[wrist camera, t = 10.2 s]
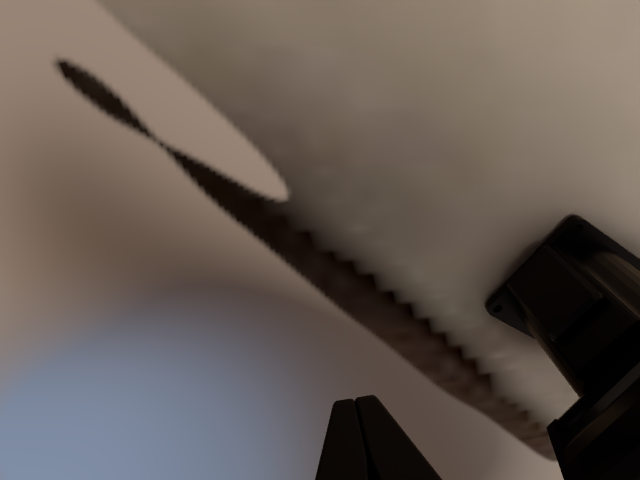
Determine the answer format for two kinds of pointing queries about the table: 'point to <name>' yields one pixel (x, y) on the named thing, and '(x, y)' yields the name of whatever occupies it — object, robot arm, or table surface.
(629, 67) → the table surface
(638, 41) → the table surface
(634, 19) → the table surface
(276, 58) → the table surface
